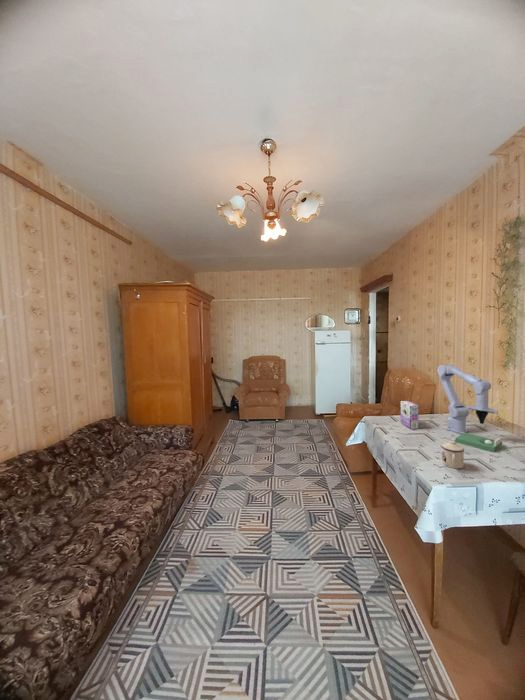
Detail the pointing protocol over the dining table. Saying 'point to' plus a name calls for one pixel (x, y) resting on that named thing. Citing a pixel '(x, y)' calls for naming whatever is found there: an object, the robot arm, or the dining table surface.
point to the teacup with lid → (452, 455)
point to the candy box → (409, 414)
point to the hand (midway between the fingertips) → (481, 423)
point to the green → (479, 442)
